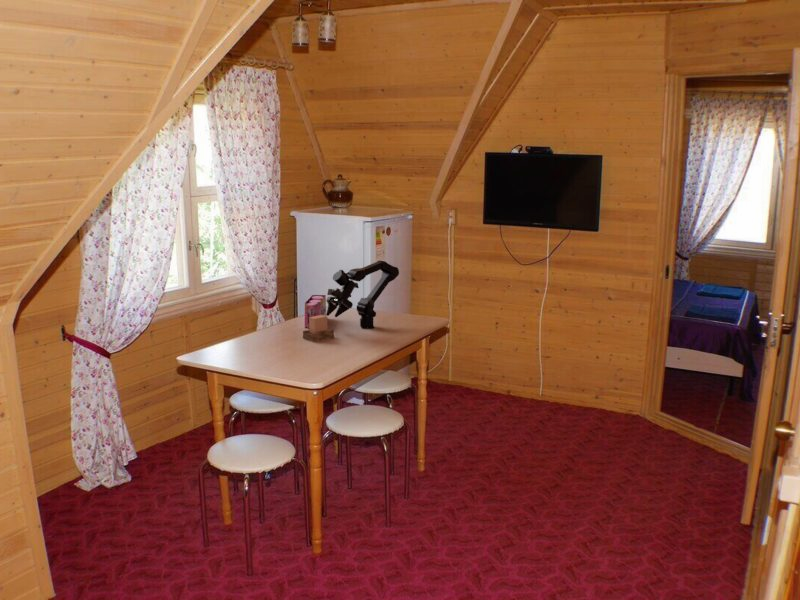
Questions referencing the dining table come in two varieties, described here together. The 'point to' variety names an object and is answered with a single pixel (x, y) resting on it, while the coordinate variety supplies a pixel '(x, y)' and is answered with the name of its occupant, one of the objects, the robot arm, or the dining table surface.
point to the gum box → (315, 307)
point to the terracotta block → (317, 324)
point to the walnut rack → (318, 335)
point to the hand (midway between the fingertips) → (331, 316)
